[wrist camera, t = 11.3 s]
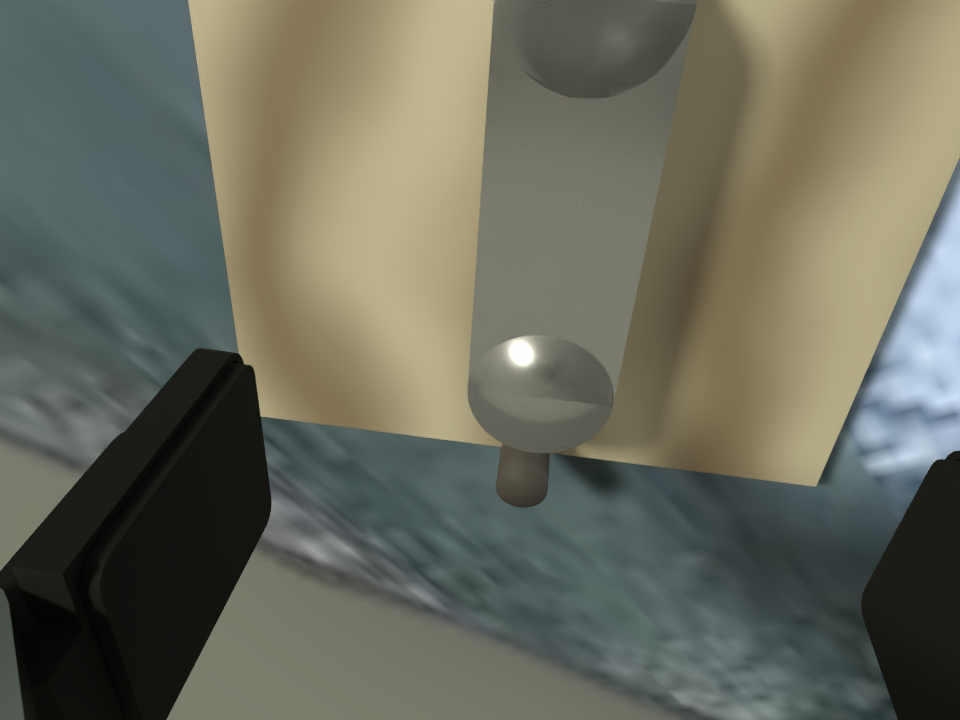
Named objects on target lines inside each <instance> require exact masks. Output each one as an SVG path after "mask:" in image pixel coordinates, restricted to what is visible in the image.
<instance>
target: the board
mask: <svg viewBox="0 0 960 720" xmlns="http://www.w3.org/2000/svg"><path fill="white" fill-rule="evenodd" d="M188 2H189V9H190V16H191V23H192V30H193V37H194V44H195V51H196V58H197V65H198V72H199V79H200V85H201V92H202V99H203V106H204V113H205V120H206V127H207V134H208V141H209V148H210V155H211V162H212V169H213V176H214V183H215V190H216V197H217V204H218V211H219V218H220V225H221V232H222V239H223V246H224V252H225V259H226V266H227V273H228V280H229V287H230V294H231V301H232V308H233V315H234V322H235V329H236V336H237V343H238V350H239V354H240V355H241V357H242V359H243V362H244V364H246V365H251V366H252V367H253V369H254V372H255V377H256V385H257V392H258V400H259V408H260V416H263V417H270V418H278V419H286V420H294V421H302V422H310V423H318V424H326V425H334V426H341V427H349V428H357V429H365V430H373V431H381V432H389V433H397V434H404V435H412V436H420V437H428V438H436V439H444V440H452V441H460V442H468V443H475V444H483V445H491V446H499V447H501V454H500V461H499V468H498V475H497V482H496V491H497V493H498V495H499V497H500V498H501V499H502V500H503V501H505V502H506V503H508V504H510V505H512V506H516V507H531V506H535V505H537V504H539V503H540V502H542V501H543V500H544V499H545V497H546V495H547V490H548V474H549V458H550V453H532V452H526V451H522V450H518V449H515V448H512V447H510V446H507V445H505V444H503V443H501V442H499V441H498V440H496V439H495V438H493V437H492V436H491V435H489V434H488V433H487V432H486V431H485V430H484V429H483V428H482V427H481V426H480V425H479V423H478V422H477V420H476V419H475V417H474V415H473V413H472V411H471V409H470V406H469V402H468V391H467V388H468V373H469V359H470V344H471V329H472V315H473V300H474V285H475V270H476V256H477V241H478V226H479V212H480V197H481V182H482V167H483V153H484V138H485V123H486V109H487V94H488V79H489V64H490V50H491V35H492V20H493V5H494V0H188ZM959 158H960V0H697V6H696V11H695V15H694V20H693V25H692V30H691V35H690V39H689V44H688V49H687V54H686V59H685V63H684V68H683V73H682V78H681V83H680V87H679V92H678V97H677V102H676V106H675V111H674V116H673V121H672V126H671V130H670V135H669V140H668V145H667V150H666V154H665V159H664V164H663V169H662V174H661V178H660V183H659V188H658V193H657V198H656V202H655V207H654V212H653V217H652V221H651V226H650V231H649V236H648V241H647V245H646V250H645V255H644V260H643V265H642V269H641V274H640V279H639V284H638V289H637V293H636V298H635V303H634V308H633V313H632V317H631V322H630V327H629V332H628V336H627V341H626V346H625V351H624V356H623V360H622V365H621V370H620V375H619V380H618V384H617V389H616V394H615V399H614V404H613V408H612V411H611V414H610V416H609V419H608V421H607V422H606V424H605V425H604V427H603V428H602V429H601V430H600V431H599V432H598V433H597V434H596V435H595V436H594V437H593V438H591V439H590V440H588V441H587V442H585V443H584V444H581V445H579V446H577V447H575V448H572V449H569V450H565V451H561V452H555V453H554V454H562V455H570V456H578V457H586V458H594V459H602V460H609V461H617V462H625V463H633V464H641V465H649V466H657V467H665V468H672V469H680V470H688V471H696V472H704V473H712V474H720V475H728V476H736V477H743V478H751V479H759V480H767V481H775V482H783V483H791V484H799V485H806V486H814V487H816V486H817V483H818V481H819V479H820V476H821V474H822V472H823V469H824V467H825V465H826V463H827V460H828V458H829V456H830V453H831V451H832V449H833V447H834V444H835V442H836V440H837V437H838V435H839V433H840V430H841V428H842V426H843V424H844V421H845V419H846V417H847V414H848V412H849V410H850V408H851V405H852V403H853V401H854V398H855V396H856V394H857V392H858V389H859V387H860V385H861V382H862V380H863V378H864V375H865V373H866V371H867V369H868V366H869V364H870V362H871V359H872V357H873V355H874V353H875V350H876V348H877V346H878V343H879V341H880V339H881V336H882V334H883V332H884V330H885V327H886V325H887V323H888V320H889V318H890V316H891V314H892V311H893V309H894V307H895V304H896V302H897V300H898V298H899V295H900V293H901V291H902V288H903V286H904V284H905V281H906V279H907V277H908V275H909V272H910V270H911V268H912V265H913V263H914V261H915V259H916V256H917V254H918V252H919V249H920V247H921V245H922V243H923V240H924V238H925V236H926V233H927V231H928V229H929V226H930V224H931V222H932V220H933V217H934V215H935V213H936V210H937V208H938V206H939V204H940V201H941V199H942V197H943V194H944V192H945V190H946V187H947V185H948V183H949V181H950V178H951V176H952V174H953V171H954V169H955V167H956V165H957V162H958V160H959Z"/></svg>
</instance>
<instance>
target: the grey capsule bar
mask: <svg viewBox="0 0 960 720" xmlns="http://www.w3.org/2000/svg"><path fill="white" fill-rule="evenodd" d="M696 6H697V0H494V5H493V20H492V35H491V50H490V64H489V79H488V94H487V109H486V123H485V138H484V153H483V167H482V182H481V197H480V212H479V226H478V241H477V256H476V270H475V285H474V300H473V315H472V329H471V344H470V359H469V373H468V388H467V391H468V402H469V406H470V409H471V411H472V413H473V415H474V417H475V419H476V420H477V422H478V423H479V425H480V426H481V427H482V428H483V429H484V430H485V431H486V432H487V433H488V434H489V435H491V436H492V437H493V438H495V439H496V440H498V441H499V442H501V443H503V444H505V445H507V446H510V447H512V448H515V449H518V450H522V451H526V452H532V453H555V452H561V451H565V450H569V449H572V448H575V447H577V446H579V445H581V444H584V443H585V442H587V441H588V440H590V439H591V438H593V437H594V436H595V435H596V434H597V433H598V432H599V431H600V430H601V429H602V428H603V427H604V425H605V424H606V422H607V421H608V419H609V416H610V414H611V411H612V408H613V404H614V399H615V394H616V389H617V384H618V380H619V375H620V370H621V365H622V360H623V356H624V351H625V346H626V341H627V336H628V332H629V327H630V322H631V317H632V313H633V308H634V303H635V298H636V293H637V289H638V284H639V279H640V274H641V269H642V265H643V260H644V255H645V250H646V245H647V241H648V236H649V231H650V226H651V221H652V217H653V212H654V207H655V202H656V198H657V193H658V188H659V183H660V178H661V174H662V169H663V164H664V159H665V154H666V150H667V145H668V140H669V135H670V130H671V126H672V121H673V116H674V111H675V106H676V102H677V97H678V92H679V87H680V83H681V78H682V73H683V68H684V63H685V59H686V54H687V49H688V44H689V39H690V35H691V30H692V25H693V20H694V15H695V11H696Z"/></svg>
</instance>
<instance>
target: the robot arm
mask: <svg viewBox="0 0 960 720" xmlns="http://www.w3.org/2000/svg"><path fill="white" fill-rule="evenodd" d="M270 512H271V493H270V486H269V478H268V470H267V462H266V455H265V447H264V439H263V431H262V424H261V416H260V408H259V400H258V392H257V385H256V377H255V372H254V369H253V367H252V366H251V365H246V364H244V362H243V359H242V357H241V355H240V354H238V353H233V352H225V351H218V350H211V349H203V348H200V349H196V350H195V351H194V352H193V353H192V354H191V355H190V356H189V357H188V358H187V360H186V361H185V362H184V363H183V364H182V365H181V367H180V368H179V369H178V370H177V371H176V372H175V374H174V375H173V376H172V377H171V378H170V379H169V381H168V382H167V383H166V384H165V385H164V386H163V388H162V389H161V390H160V391H159V392H158V394H157V395H156V396H155V397H154V398H153V399H152V401H151V402H150V403H149V404H148V405H147V406H146V408H145V409H144V410H143V411H142V412H141V413H140V415H139V416H138V417H137V418H136V419H135V420H134V422H133V423H132V424H131V425H130V426H129V427H128V429H127V430H126V431H125V432H123V433H121V434H120V435H119V436H117V437H116V438H115V439H114V440H113V441H112V442H111V443H110V444H109V446H108V447H107V448H106V449H105V450H104V451H103V453H102V454H101V455H100V456H99V457H98V458H97V460H96V461H95V462H94V463H93V464H92V465H91V466H90V468H89V469H88V470H87V471H86V472H85V473H84V475H83V476H82V477H81V478H80V479H79V480H78V482H77V483H76V484H75V485H74V486H73V487H72V489H71V490H70V491H69V492H68V493H67V494H66V496H65V497H64V498H63V499H62V500H61V501H60V503H59V504H58V505H57V506H56V507H55V508H54V509H53V511H52V512H51V513H50V514H49V515H48V516H47V518H46V519H45V520H44V521H43V522H42V523H41V525H40V526H39V527H38V528H37V529H36V530H35V531H34V533H33V534H32V535H31V536H30V537H29V539H28V540H27V541H26V542H25V543H24V545H22V547H21V548H20V549H19V550H18V551H17V552H16V554H15V555H14V556H13V557H12V558H11V559H10V561H9V562H8V563H7V564H6V565H5V567H3V569H2V570H1V571H0V720H166V719H167V717H168V715H169V713H170V711H171V709H172V707H173V705H174V703H175V701H176V700H177V698H178V696H179V694H180V692H181V690H182V688H183V686H184V684H185V682H186V680H187V678H188V676H189V675H190V672H191V670H192V669H193V667H194V665H195V663H196V661H197V659H198V657H199V655H200V653H201V651H202V649H203V647H204V645H205V643H206V641H207V640H208V638H209V636H210V634H211V632H212V630H213V628H214V626H215V624H216V622H217V620H218V618H219V616H220V614H221V613H222V611H223V609H224V607H225V605H226V603H227V601H228V599H229V597H230V595H231V593H232V591H233V589H234V587H235V585H236V583H237V582H238V580H239V578H240V576H241V574H242V572H243V570H244V568H245V566H246V564H247V562H248V560H249V558H250V556H251V554H252V552H253V551H254V549H255V547H256V545H257V543H258V541H259V539H260V537H261V535H262V533H263V531H264V529H265V527H266V525H267V523H268V520H269V517H270ZM861 607H862V615H863V619H864V622H865V625H866V628H867V631H868V634H869V636H870V639H871V642H872V645H873V648H874V651H875V654H876V657H877V660H878V663H879V666H880V669H881V671H882V674H883V677H884V680H885V683H886V686H887V689H888V692H889V695H890V698H891V701H892V703H893V706H894V709H895V712H896V715H897V718H898V720H960V451H954V452H952V453H951V454H950V455H948V456H947V458H946V459H945V460H943V459H941V460H937V461H935V462H934V463H933V464H932V466H931V467H930V469H929V471H928V473H927V474H926V476H925V478H924V480H923V482H922V484H921V485H920V487H919V489H918V491H917V493H916V495H915V497H914V498H913V500H912V502H911V504H910V506H909V508H908V510H907V511H906V513H905V515H904V517H903V519H902V521H901V523H900V524H899V526H898V528H897V530H896V532H895V534H894V536H893V537H892V539H891V541H890V543H889V545H888V547H887V549H886V550H885V552H884V554H883V556H882V558H881V560H880V562H879V563H878V565H877V567H876V569H875V571H874V573H873V575H872V576H871V578H870V580H869V582H868V584H867V586H866V588H865V590H864V592H863V596H862V605H861Z"/></svg>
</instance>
